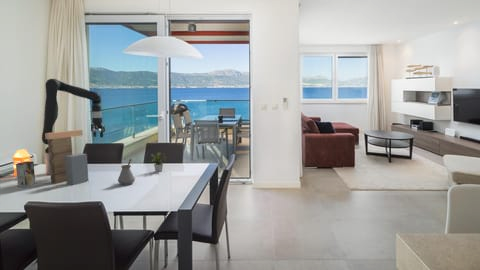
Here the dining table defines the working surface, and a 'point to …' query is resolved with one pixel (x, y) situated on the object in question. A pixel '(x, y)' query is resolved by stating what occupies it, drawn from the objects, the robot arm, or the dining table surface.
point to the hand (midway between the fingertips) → (98, 137)
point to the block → (63, 134)
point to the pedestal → (76, 168)
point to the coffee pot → (126, 175)
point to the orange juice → (20, 158)
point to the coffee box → (25, 174)
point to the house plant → (158, 162)
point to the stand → (59, 158)
